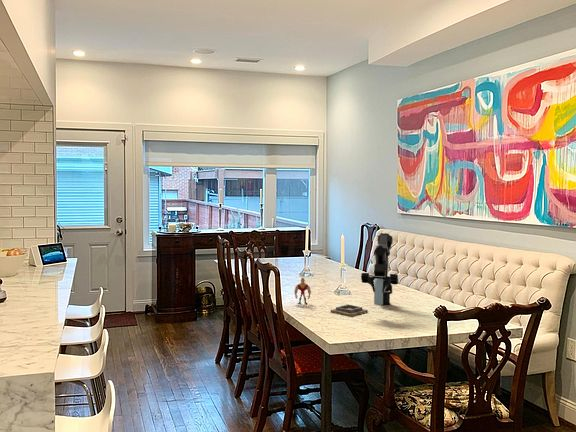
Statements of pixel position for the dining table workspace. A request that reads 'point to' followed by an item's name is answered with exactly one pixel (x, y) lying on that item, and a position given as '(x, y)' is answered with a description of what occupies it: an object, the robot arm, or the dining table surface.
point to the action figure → (302, 290)
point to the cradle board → (349, 310)
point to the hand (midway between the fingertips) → (378, 292)
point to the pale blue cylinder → (378, 291)
